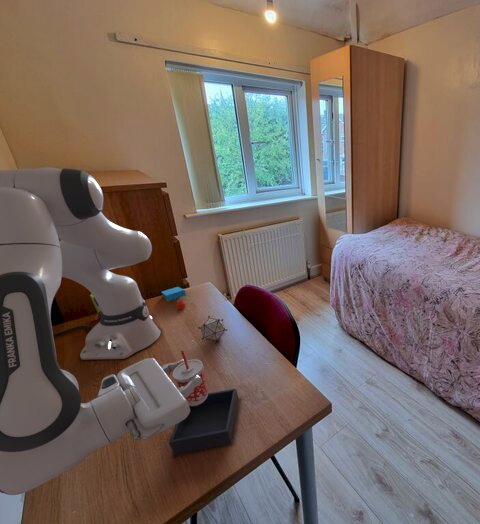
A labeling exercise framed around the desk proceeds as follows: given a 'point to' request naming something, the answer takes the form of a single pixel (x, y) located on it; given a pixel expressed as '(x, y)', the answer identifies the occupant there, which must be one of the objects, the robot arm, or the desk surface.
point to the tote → (207, 423)
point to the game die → (212, 329)
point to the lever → (175, 296)
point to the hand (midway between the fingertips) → (193, 369)
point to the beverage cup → (183, 378)
